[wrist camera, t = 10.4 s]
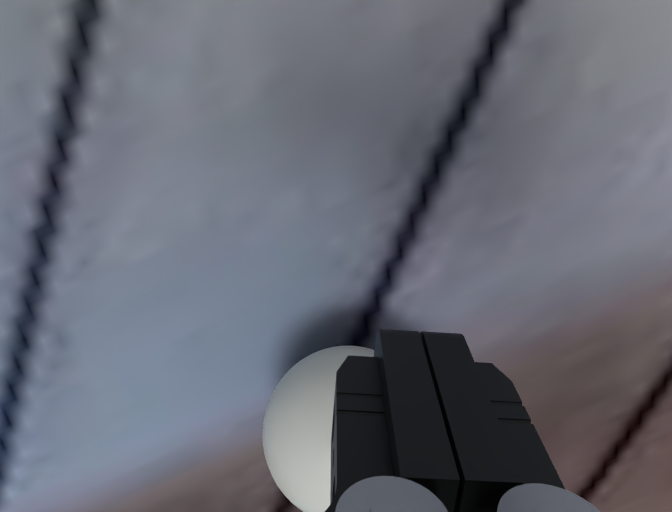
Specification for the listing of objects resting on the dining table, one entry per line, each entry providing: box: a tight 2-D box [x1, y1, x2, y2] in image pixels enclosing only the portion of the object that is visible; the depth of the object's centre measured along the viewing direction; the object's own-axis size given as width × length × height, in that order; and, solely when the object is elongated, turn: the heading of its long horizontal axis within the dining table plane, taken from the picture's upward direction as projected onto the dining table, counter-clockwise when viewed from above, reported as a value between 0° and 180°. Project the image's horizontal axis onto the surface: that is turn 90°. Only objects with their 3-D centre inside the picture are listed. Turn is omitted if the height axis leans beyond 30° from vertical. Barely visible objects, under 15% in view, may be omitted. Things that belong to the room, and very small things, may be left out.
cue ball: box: [262, 346, 374, 512], centre depth 18 cm, size 6×6×6 cm
